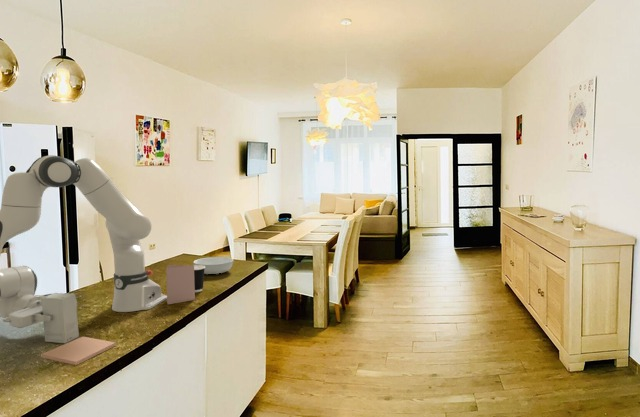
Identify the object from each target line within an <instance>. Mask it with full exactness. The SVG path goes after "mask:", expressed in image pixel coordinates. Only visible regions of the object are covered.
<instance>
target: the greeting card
mask: <svg viewBox="0 0 640 417" xmlns="http://www.w3.org/2000/svg"><path fill="white" fill-rule="evenodd" d="M166 266H167V267H166V269H165V271H166V272H165V273H166V277H165V278H166V296H167V299H166V301H167V302H166V304H167V305H172V304H179V303H183V302H189V301H190V302H191V301H194V300H196V295H195V293H196V292H195V284H194V264H191V265H190V264H189V265H188V264H185V265H184V264H183V265H181V264H180V265H177V264H176V265H173V264H167V265H166Z"/></svg>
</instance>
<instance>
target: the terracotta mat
mask: <svg viewBox="0 0 640 417" xmlns="http://www.w3.org/2000/svg"><path fill="white" fill-rule="evenodd" d="M116 346H117V344H116V342H115V341H109V340H104V339H99V338H93V337H88V336H81V337H80V336H79V337H78V338H76V339H74V340H71V341H69V342H67V343H63V344H62V345H60V346H57V347H55V348H53V349H51V350H47V351H45V352H43V353H41V354H40V356H41V358H42V359H46V360H51V361H56V362H59V363H65V364H70V365H75V366H78V365H79V364H81V363H84V362H85V361H88V360H90V359H92V358H94V357H96V356H97V355H99V354H101V353H104V352H106V351H108V350H110V349H113V348H114V347H116Z"/></svg>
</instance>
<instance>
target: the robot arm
mask: <svg viewBox="0 0 640 417" xmlns="http://www.w3.org/2000/svg"><path fill="white" fill-rule="evenodd" d="M105 171H106V170H105ZM105 171H104V169H103V168H102V167H101V166H100V165H98V163H97V162H95V160H93V159H91V158H88V157H87V158H86V157H84V158H83V157H82V158H79V159H77V160H75V161H73V160H71V159H68V158H65V157H63V156H60V155H59V156H58V155H53V154H52V155H43V156H40V157H38V158H36V159H35V161H34V162H32V164H31V165H30V166H29V168H28V169H27V170H26V172H23V171H22V172H20V171H19V172H15V173H13V174H10V175H9V176H7V178H6V180H5V183H4V186H3V191H2V196H1V205H0V256H1V255H2V251H3V247H4V245H6V243H7V242H8V241H10V240H11V239H13V238H14V237H16V236H18V235H21V234H23V233H25V232H28V231H30V230H31V229H33V228H34V227H35V226H36V225H37V224H38V223H39V221H40V218H41V215H42V201H43V200H42V198H43V195H44V193H45V191H46V190H48V188H64V187H67V186H69V185H74V186H75V187H76V188H77V189H78V190H79V191H80V193H81V194H82V195H83V197H85V199H86V200H87V201H88V202H89V204H90V205H91V206H92V207H93V208H94V209H95V211H97V212H98V213H99V214H100V215H101V216H102V217H103V218H105V227H106V229H107V232H108V234H109V235H108V236H109V240H110V243H111V244H110V245H111V247H112V253H113V262H114V263H113V265H114V274H113V283H114V287H113V288H114V291H113V301H112V303H111V304H112V305H111V310H112V311H113V312H118V313H128V312H129V313H130V312H136V311H137V312H138V311H144V310H145V311H146V310H151V309H152V308H154V307H156V306H158V305H159V304H161V303H163V302H165V301H167V294H163V293H162V288H161V286H160V285H159V284H158V283H156V282H155V281H153V280H152V279H150V278H149V276H153V274H154V272H153V270H150V269H149V270H146V269H145V264H146V263H145V252H144V249H143V247H142V245H141V242H140V240H144V239H145V238H147V237H148V236H149V235H150V233H151V231H152V222H151V220H150V219H149V218H148V217H147V216H146V215H145V214H144V213H142V212H141V210H139V208H138V207H137V206H136V205H135V204H133V202H131V201H130V200H129V199H128V198H127V197H126V196H125V195H124V194H123V193H122V191H121V190H120V189H119V188H118V186H117V185H116V183H114V181H113V180H112V178H111V177H110V176H109V175H108V174H107V173H106V172H105ZM37 287H38V276H37V274H36V272H34V270H33V268H31V267H29V266H27V265H20V266H19V265H17V266H10V267H6V268H0V318H2V320H1V321H2V322H3V323H8V324H9V326H11V327H14V328H17V329H23V328H27V327H29V326H32V325H34V324H35V325H36V324H38V323H40V322H41V323H42V322H43V321H47V322H49V321H51V320H53V315H50V314H48V315H43V312H42V302H41V298H43V297H45V296H48V295H51V294H54V293H55V292H54V293H47V294H41V295H40V294H39V295H38V294H36V292H37ZM35 294H36V295H35ZM76 309H78V300H77V298H76Z"/></svg>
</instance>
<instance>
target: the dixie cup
mask: <svg viewBox="0 0 640 417" xmlns="http://www.w3.org/2000/svg"><path fill="white" fill-rule="evenodd" d="M204 269H205V266H202V265H195V266H194V284H195V293H199V292H202V291H203V288H204V280H205V278H204V277H205V274H204Z"/></svg>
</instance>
